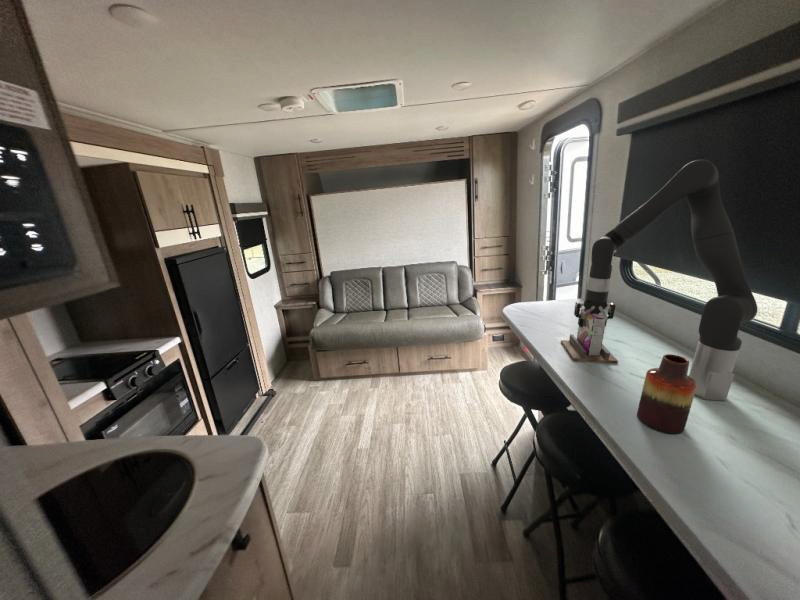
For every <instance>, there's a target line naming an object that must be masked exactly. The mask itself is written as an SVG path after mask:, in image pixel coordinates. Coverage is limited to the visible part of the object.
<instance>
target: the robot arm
mask: <svg viewBox="0 0 800 600" xmlns="http://www.w3.org/2000/svg"><path fill="white" fill-rule="evenodd" d="M719 177H720V176H719V171H718V169H717V166H715V164H714V163H713V162H711V161H710V160H708V159H696V160H693V161H690V162H688V163H687V164H685V165H684V166H683V167H682V168H681V169H679V171H677V172H676V173H675V175H674V176H672V177H671V179H669V181H667V183H665V185H663V186H662V187H661V189H659V190H658V191H657V192H656V193H655V194H653V196H652V197H650V198H649V199H648V200H647V201H646V202H645V203H643V204H642V205H641V206H639V207H638V208H637V209H635V210H634V211H633V212H632V213H630V214H629V215H627V216H625V218H624V219H622V220H621V221H620V222H619V223H617V224H616V226H615V227H614V228H613V229H610V230H609V232H607V233H606V234H604V235H602V236H601V237H600V238H598V239H597V240H595V241H594V243H592V248H591V257H590V258H591V265H590V268H589V269H590V270H589V275H588V280H587V282H586V283H587V284H586V290H585V295H584V296H585V297H584V298H585V299H584V301H583V302H579V301H576V302H575V305H574V311H573V315H574V316H575V317H576V318H577V319H578V321H577V324H578V327H579V326H580V327H583V322H584V317H585V316H586V315H588V314H589V313H597V314H601V315H602V316H604V317H605V318H606V324H605V328H606V327H607V322H608V320H611V319H614V317H615V311H616V304H615V303H614V302H610V303H608V298H609V294H610V287H611V277H612V272H613V271H612V270H613V265H612V261H613V255H614V252H615V251H616V250H617V249H619V248H621V246H623V245H624V244H625V243H626V242H628V241H629V240H632V239H633V238H635V237H636V236H637V235H639V234H641V233H642V232H643V231H644V230H646V229H647V228H648V227H649V226H651V225H652V224H653V223H654V222H655V221H657V220H658V218H660V217H661V216H662V215H663V213H665V212H666V211H667V210H668V209H670V208H671V207H672V206H673V205H674V204H676V203H677V202H678V201H680V200H682V199H683V198H686V201H687V204H688V207H689V210H690V222H691V224H690V225H691V226H690V229H691V230H690V232H691V237H692V244H693V247H694V251H695V255H696V257H697V259H698V261H699V263H701V265H702V266H703V268H705V270H706V271H707V272H708V274H709V275H710V276H711V278H712V280H713V282H714V284H715V288H716V292H717V296H715V297H712V298H711V299H709V300H707V302H706V303H705V305H703V309H702V312H701V316H700V321H699V326H698V334H699V338H698V339H699V340H698V342H697V346H696V349H695V353H694V356H693V360H692V362H691V367H690V370H689V374H688V376H689V377H691V378H692V379H694V381H695V382H696V384H697V388H696V391H695V395H694V396H697V397H700V398H701V399H703V400H707V401H709V400H711V401H721V402H722V401H723V402H724V401H725V402H726V401H727V398H728V396H729V392H730V389H731V386H732V383H733V380H734V377H735V374H734V373H733V370H734V368H735V365H736V361H737V359H738V356H739V352H740V350H741V347H742V343H743V341H742V339H741V338H739V336H738V334H739V331H740V327H741V325H742V324H745V323H748V322H751V321H752V320H753V319H755V318H756V316H757V313H758V303H757V302H756V299H755V297H754V294H753V292H752V289H751V287H750V285H749V283H748V281H747V278H746V275H745V271H744V267H743V263H742V258H741V256H740V251H739V248H738V247H739V246H738V242H737V239H736V235H735V231H734V228H733V225H732V223H731V220H730V218H729V216H728V214H727V211H726V210H725V208H724V205H723V202H722V197H721V190H720V180H719V179H720V178H719ZM583 307H584V308H583ZM606 308H607V309H608V310H607V313H606V311H605V309H606ZM581 309H583V310H582V312H581ZM580 312H581V313H580Z"/></svg>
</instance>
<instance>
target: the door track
mask: <svg viewBox="0 0 800 600" xmlns="http://www.w3.org/2000/svg"><path fill="white" fill-rule="evenodd" d="M560 343H562V344H561V345H562V346H564V347H563V348H564V349H566V350H565V351H566V353H567V352H568V353H567V354H568V356H569V355H570V356H569V358H570V359H571V360H572V361H573V362H582V361H585V362H586V363H600V364H601V363H603V364H614V365H615V364H618V363H619V360H618V359H617V358H616V357H615V356H614V355H613V354H612V352H610V351H609V349H608V348H607V347H606V346H605V345H604V344H603V343H602V347H601V353H600V356H588V355H587V352H586V350H585V349H584V348H583V347H582V345H581V344H580V343H579V341H578V340H577V337H576V336H575V334H571V333H570V334H569V340H567V339H561V340H560ZM585 362H584V363H585Z"/></svg>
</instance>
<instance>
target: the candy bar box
mask: <svg viewBox="0 0 800 600" xmlns="http://www.w3.org/2000/svg"><path fill="white" fill-rule="evenodd" d="M583 309H584V308H580V313H581V312H582V310H583ZM605 324H606V325H607V323H606V318H605V317H604V316H602V315H601V314H600V313H599V314H597V313H589V314H588V315H586V316H585V317H584V322H583V327H580V326H579V325H578V328H577V333H576V339H577V340H578V341H579V343H580V344H581V345H582V347H583V348H584V349H585V350H586V352H587V355H588V356H600V353H601V347H602V344H603V340H604V334H605V328H606V327H605Z"/></svg>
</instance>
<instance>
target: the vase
mask: <svg viewBox="0 0 800 600" xmlns="http://www.w3.org/2000/svg"><path fill="white" fill-rule="evenodd" d="M689 365H690V361H689V359H687V358H685V357H683V356H681V355H677V354H667V353H666V354H664V355H663V356H662V359H661V361H660V364H659V367H652V368H649V369H648V370H647V371H646V374H645V378H644V382H643V385H642V386H643V387H642V391H641V395H640V400H639V403H638V407H637V412H636V416H637V418H638V420H639V421H640V423H642V424H643V425H644V426H646V427H647V428H649V429H651V430H653V431H656V432H659V433H663V434H665V435H680V434H682V433H683V432H684V431H685V428H686V425H687V422H688V419H689V414H690V412H691V408H692V405H693V401H694V399H695V398H694V397H695V396H696V395H695V391H696V388H697V384H696V382H695V381H694V379H692V378H691V377H689V374H688V372H689V367H690V366H689Z"/></svg>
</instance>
